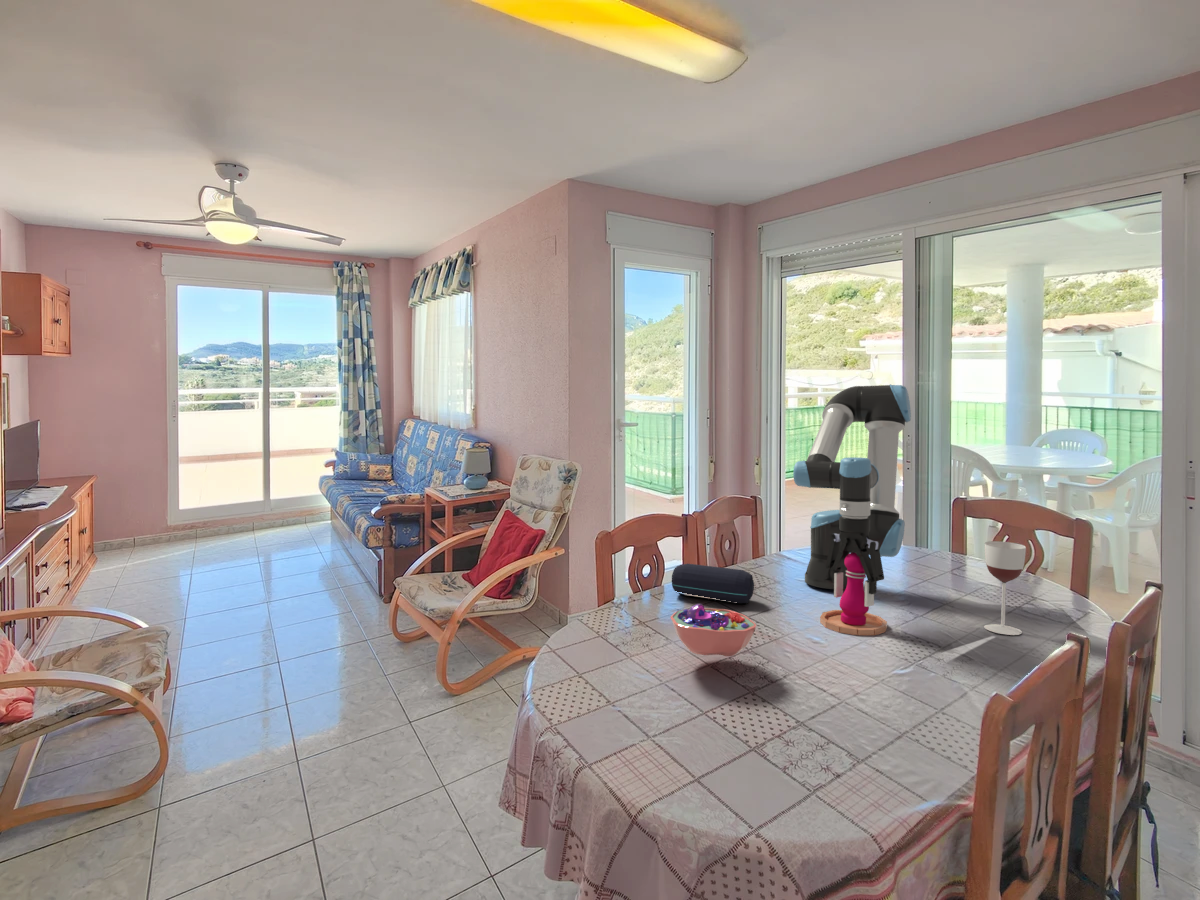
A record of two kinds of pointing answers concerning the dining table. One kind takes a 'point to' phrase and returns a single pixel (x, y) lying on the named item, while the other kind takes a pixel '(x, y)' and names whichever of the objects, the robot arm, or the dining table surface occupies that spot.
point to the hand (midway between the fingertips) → (853, 600)
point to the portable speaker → (713, 582)
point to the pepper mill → (854, 592)
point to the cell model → (713, 630)
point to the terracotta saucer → (871, 627)
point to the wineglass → (1004, 574)
